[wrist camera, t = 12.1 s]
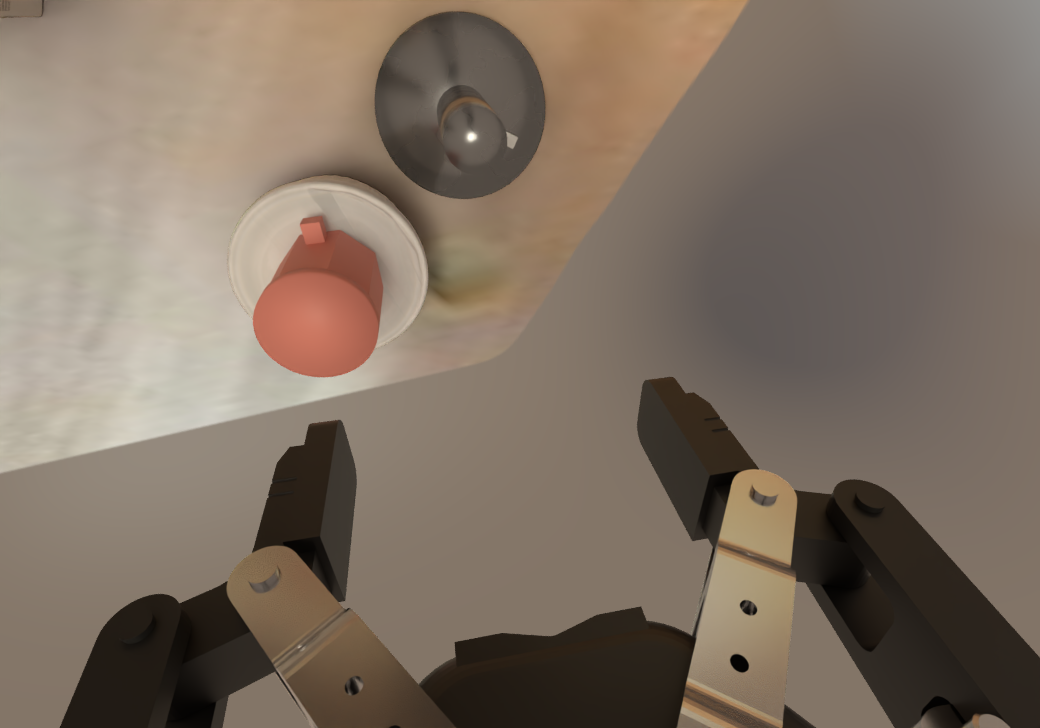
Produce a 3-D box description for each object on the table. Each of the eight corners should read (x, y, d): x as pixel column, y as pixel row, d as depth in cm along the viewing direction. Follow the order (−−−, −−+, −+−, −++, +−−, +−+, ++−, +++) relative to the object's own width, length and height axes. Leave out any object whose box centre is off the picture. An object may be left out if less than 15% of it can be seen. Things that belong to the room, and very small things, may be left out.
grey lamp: (353, 154, 32) (336, 197, 25) (410, -28, 28) (409, -41, 20) (500, 217, 36) (522, 271, 29) (570, 66, 31) (618, 84, 24)
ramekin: (454, 213, 35) (460, 242, 31) (385, 341, 40) (382, 381, 36) (284, 122, 31) (263, 140, 26) (228, 278, 35) (202, 316, 31)
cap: (259, 219, 28) (226, 264, 23) (367, 206, 29) (358, 248, 24) (302, 338, 33) (281, 398, 28) (395, 325, 33) (392, 381, 28)
